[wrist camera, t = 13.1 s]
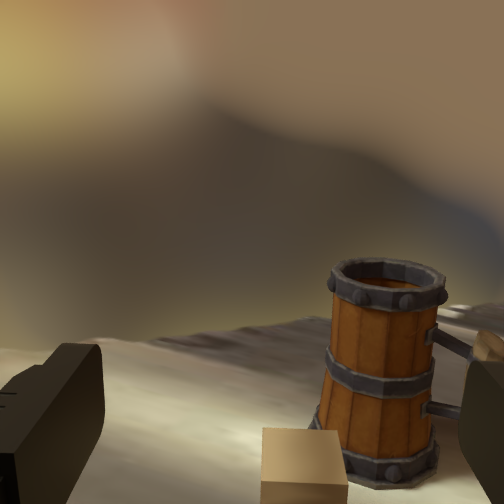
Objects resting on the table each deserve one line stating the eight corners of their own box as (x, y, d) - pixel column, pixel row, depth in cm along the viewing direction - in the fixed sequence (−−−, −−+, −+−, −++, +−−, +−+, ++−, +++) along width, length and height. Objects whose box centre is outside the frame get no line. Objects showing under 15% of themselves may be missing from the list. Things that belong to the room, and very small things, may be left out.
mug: (506, 458, 52) (538, 281, 46) (462, 544, 41) (498, 327, 36) (346, 392, 64) (357, 246, 58) (280, 446, 53) (286, 272, 48)
